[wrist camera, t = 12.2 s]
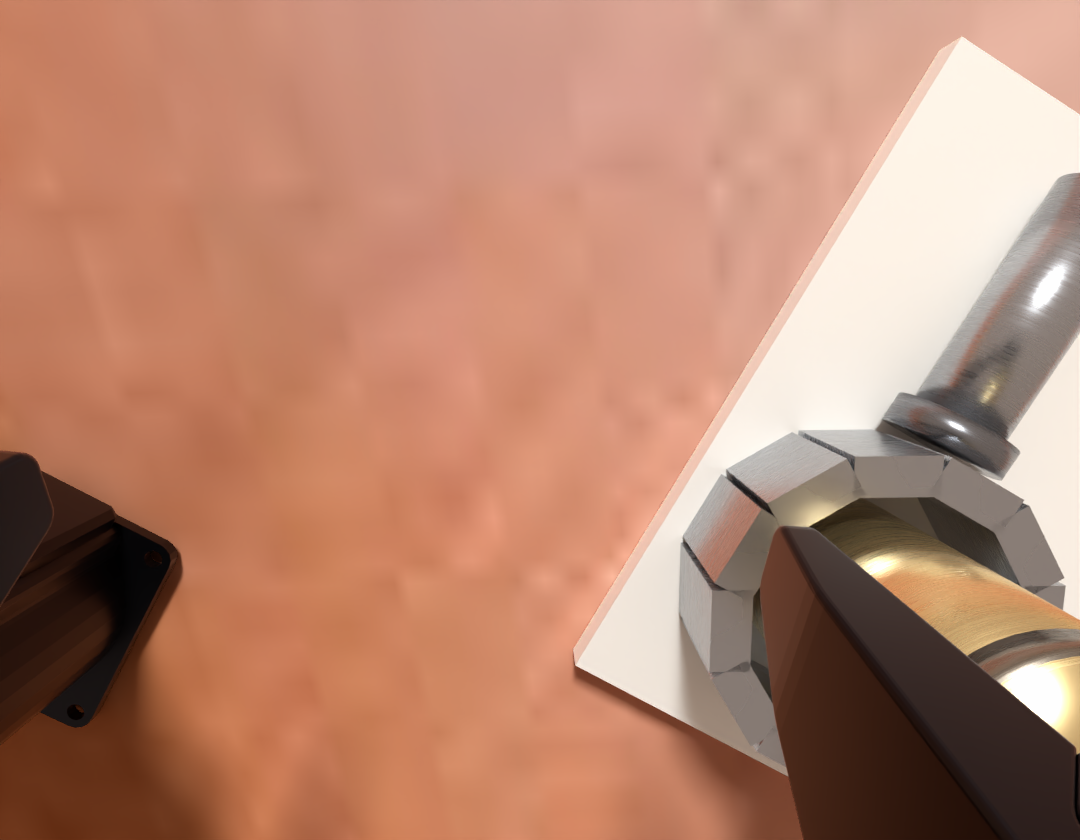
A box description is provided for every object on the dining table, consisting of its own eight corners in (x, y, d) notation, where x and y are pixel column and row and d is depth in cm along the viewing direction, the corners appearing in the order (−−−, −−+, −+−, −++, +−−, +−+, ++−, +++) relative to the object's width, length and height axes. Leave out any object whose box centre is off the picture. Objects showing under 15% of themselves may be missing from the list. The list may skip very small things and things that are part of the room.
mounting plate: (1051, 899, 24) (1073, 925, 23) (572, 649, 22) (575, 665, 21) (1444, 382, 21) (1489, 385, 20) (939, 49, 20) (961, 36, 19)
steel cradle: (1058, 854, 23) (1165, 966, 19) (622, 623, 21) (644, 693, 18) (1386, 418, 21) (1582, 444, 17) (931, 124, 19) (1033, 80, 15)
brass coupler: (851, 686, 21) (1127, 1010, 11) (705, 609, 21) (858, 875, 11) (946, 541, 21) (1325, 753, 11) (796, 459, 20) (1047, 599, 10)
